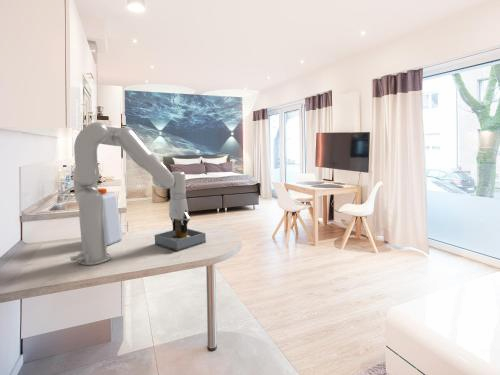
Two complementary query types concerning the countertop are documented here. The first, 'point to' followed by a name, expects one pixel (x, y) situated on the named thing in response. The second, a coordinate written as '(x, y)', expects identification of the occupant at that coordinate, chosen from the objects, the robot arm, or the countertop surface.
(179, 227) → the condiment
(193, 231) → the open bin
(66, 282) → the countertop surface
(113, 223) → the plastic bottle
